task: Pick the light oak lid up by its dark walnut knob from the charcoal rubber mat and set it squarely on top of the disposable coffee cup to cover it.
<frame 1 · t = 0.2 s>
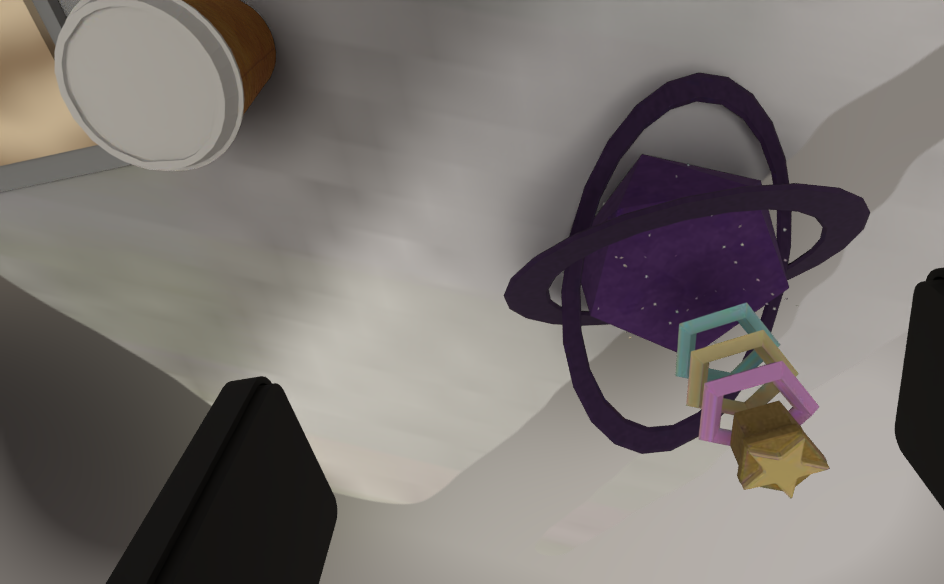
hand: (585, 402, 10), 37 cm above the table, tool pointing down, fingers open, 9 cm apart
decorative bottle: (658, 217, 48), on the table
disposable coffee cup: (230, 46, 43), on the table
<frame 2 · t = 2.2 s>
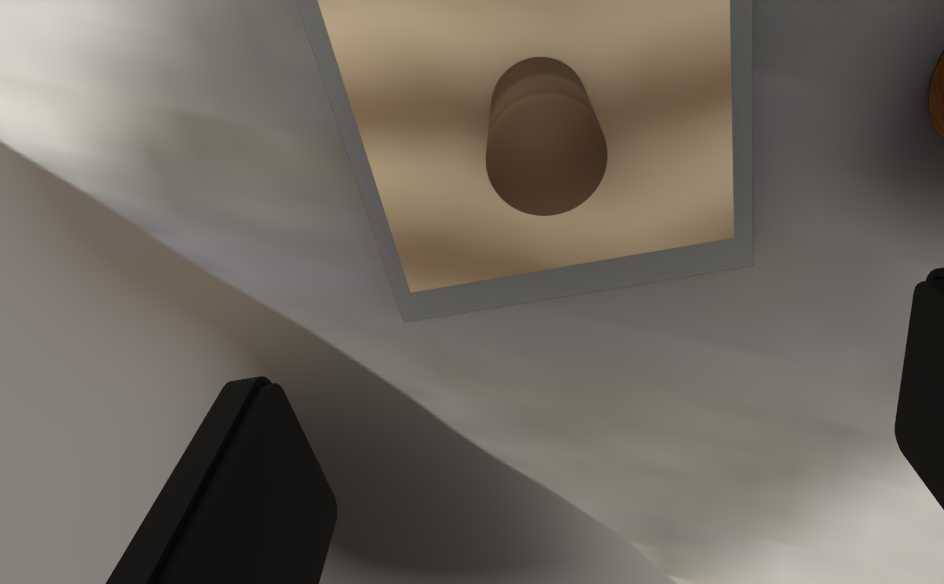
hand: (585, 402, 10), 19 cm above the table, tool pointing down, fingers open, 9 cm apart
oak lid: (537, 101, 25), point 1 cm above the table, touching rubber mat
rubber mat: (536, 94, 25), on the table
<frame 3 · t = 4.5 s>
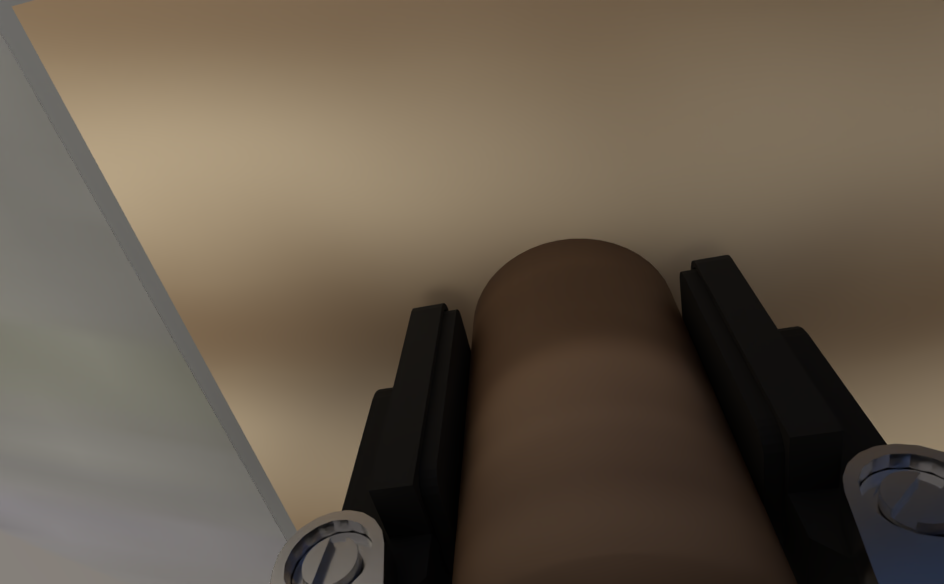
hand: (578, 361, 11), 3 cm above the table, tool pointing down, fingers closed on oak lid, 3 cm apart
oak lid: (569, 305, 12), point 1 cm above the table, touching gripper, rubber mat
rubber mat: (565, 279, 13), on the table
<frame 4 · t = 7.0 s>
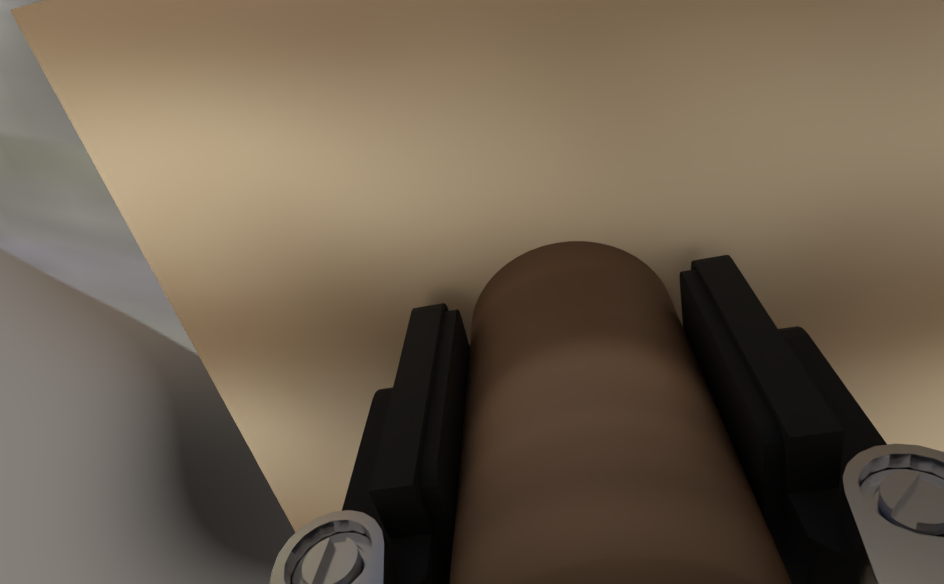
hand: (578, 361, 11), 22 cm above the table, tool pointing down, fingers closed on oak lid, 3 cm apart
oak lid: (567, 307, 12), point 20 cm above the table, touching gripper
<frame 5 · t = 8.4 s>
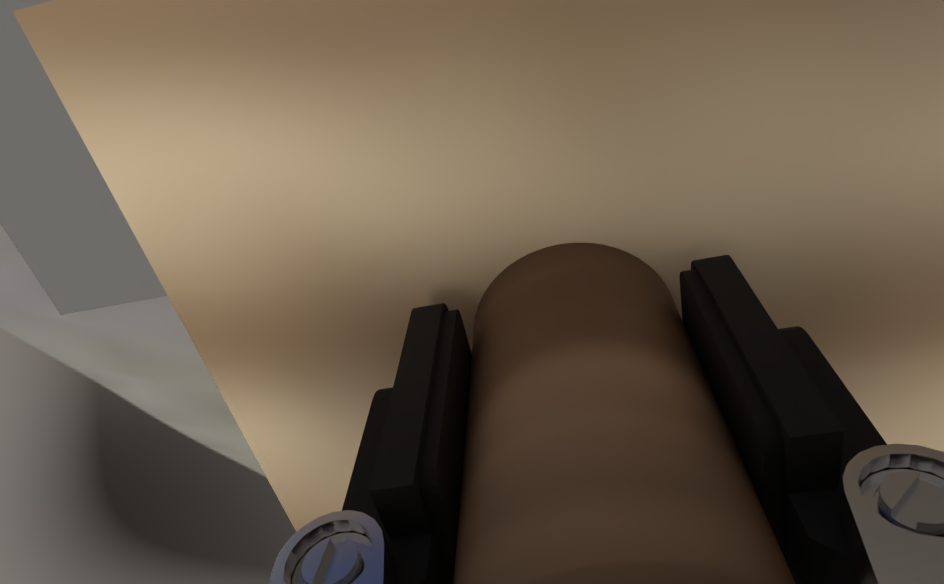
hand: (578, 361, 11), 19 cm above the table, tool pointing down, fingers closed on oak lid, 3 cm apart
oak lid: (570, 308, 12), point 17 cm above the table, touching gripper
rubber mat: (121, 105, 28), on the table
when the fingers open (15 cm above the table, at t = 9.5 s): oak lid drops 1 cm, resting on disposable coffee cup.
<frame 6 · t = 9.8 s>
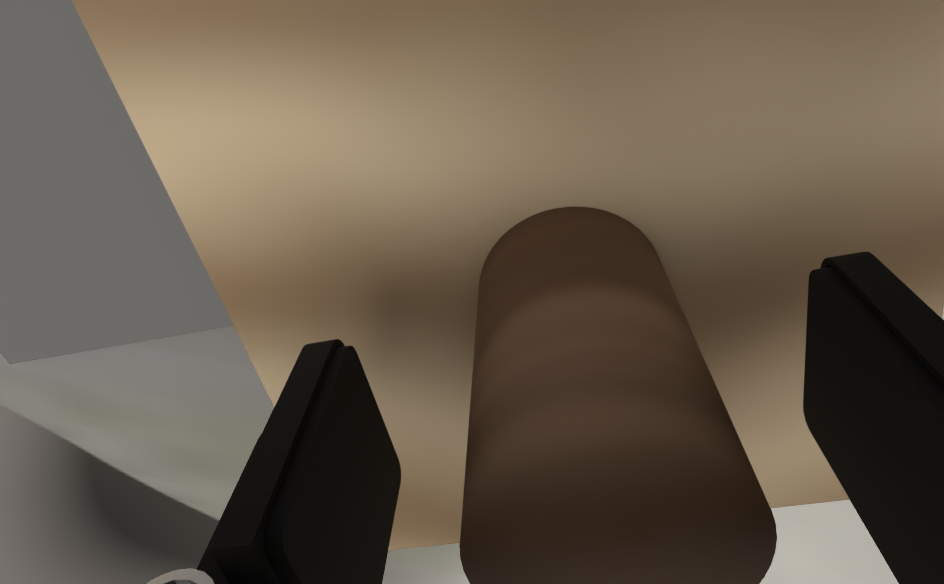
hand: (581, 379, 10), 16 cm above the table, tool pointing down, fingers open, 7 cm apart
oak lid: (566, 271, 13), point 12 cm above the table, touching disposable coffee cup
rubber mat: (69, 136, 25), on the table
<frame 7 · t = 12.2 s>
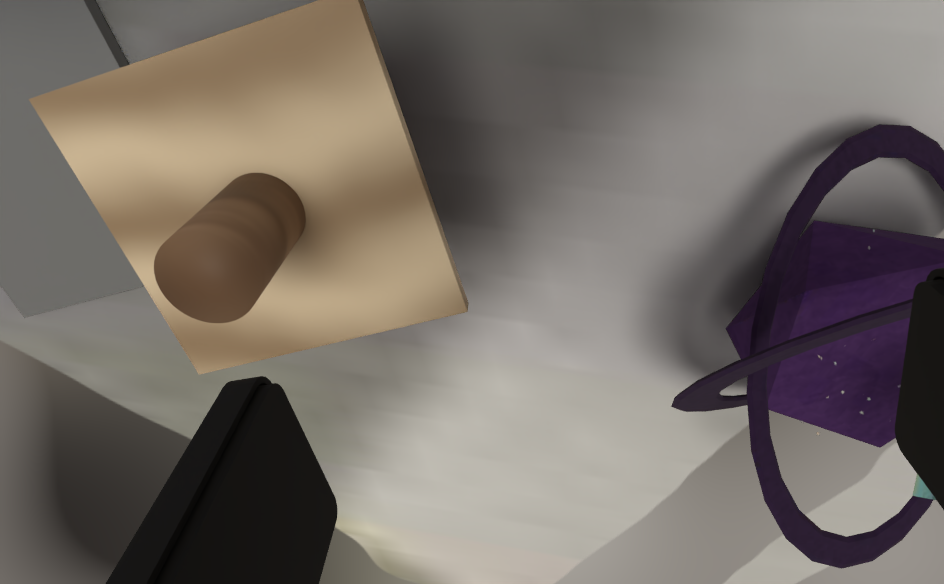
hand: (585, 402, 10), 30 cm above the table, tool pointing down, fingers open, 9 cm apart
oak lid: (269, 206, 28), point 12 cm above the table, touching disposable coffee cup
decorative bottle: (813, 280, 42), on the table
rubber mat: (53, 164, 40), on the table
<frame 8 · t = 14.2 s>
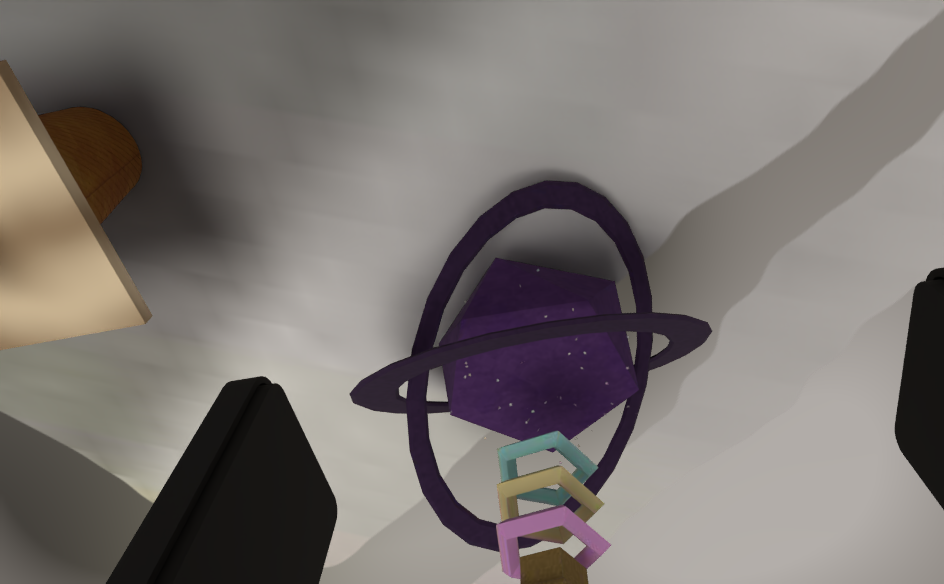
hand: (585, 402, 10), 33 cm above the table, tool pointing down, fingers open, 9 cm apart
decorative bottle: (532, 305, 48), on the table
disposable coffee cup: (97, 151, 44), on the table, touching oak lid
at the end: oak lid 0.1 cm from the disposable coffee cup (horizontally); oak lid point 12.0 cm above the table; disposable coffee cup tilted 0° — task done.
